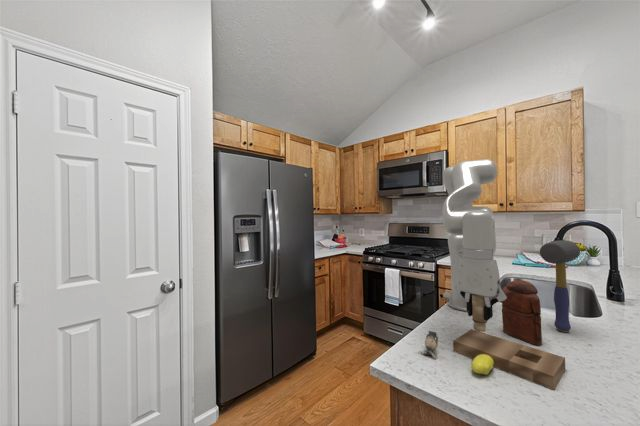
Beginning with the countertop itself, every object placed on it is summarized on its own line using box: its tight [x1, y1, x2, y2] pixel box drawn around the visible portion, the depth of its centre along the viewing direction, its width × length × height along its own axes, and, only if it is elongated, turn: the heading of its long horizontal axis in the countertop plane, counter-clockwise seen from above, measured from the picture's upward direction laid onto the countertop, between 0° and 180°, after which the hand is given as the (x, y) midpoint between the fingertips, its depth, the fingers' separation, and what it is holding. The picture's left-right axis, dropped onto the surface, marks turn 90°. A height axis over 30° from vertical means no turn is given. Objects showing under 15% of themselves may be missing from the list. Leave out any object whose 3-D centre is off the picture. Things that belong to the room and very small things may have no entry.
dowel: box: [471, 294, 488, 333], centre depth 76 cm, size 4×4×11 cm
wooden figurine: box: [501, 279, 543, 346], centre depth 83 cm, size 12×6×18 cm, turn 23°
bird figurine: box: [417, 330, 439, 360], centre depth 75 cm, size 5×5×6 cm
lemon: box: [471, 354, 494, 376], centre depth 66 cm, size 4×8×4 cm, turn 123°
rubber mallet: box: [539, 239, 581, 333], centre depth 87 cm, size 12×8×30 cm, turn 119°
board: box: [452, 328, 566, 391], centre depth 71 cm, size 22×12×3 cm, turn 38°
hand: (479, 316), depth 76 cm, fingers closed on dowel, 3 cm apart
